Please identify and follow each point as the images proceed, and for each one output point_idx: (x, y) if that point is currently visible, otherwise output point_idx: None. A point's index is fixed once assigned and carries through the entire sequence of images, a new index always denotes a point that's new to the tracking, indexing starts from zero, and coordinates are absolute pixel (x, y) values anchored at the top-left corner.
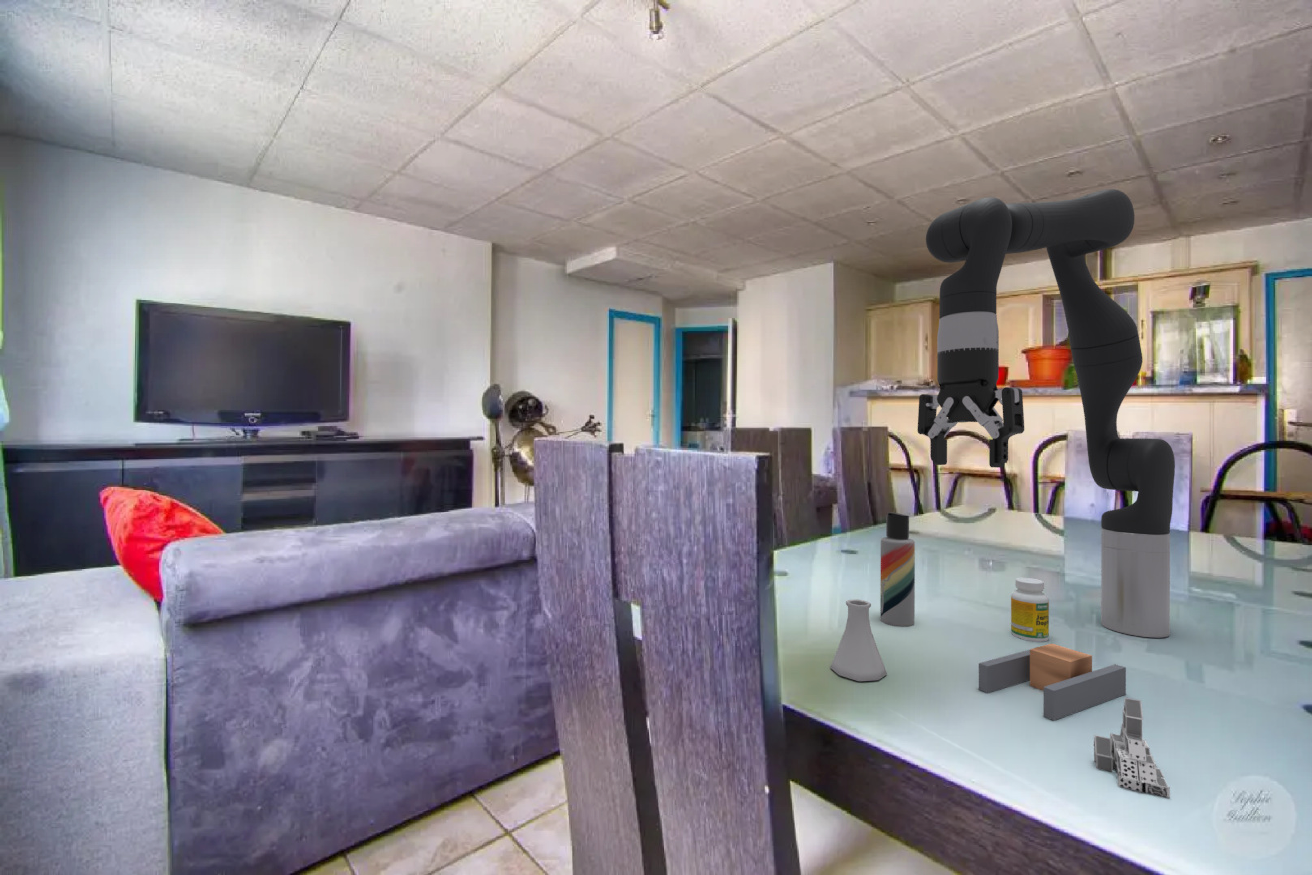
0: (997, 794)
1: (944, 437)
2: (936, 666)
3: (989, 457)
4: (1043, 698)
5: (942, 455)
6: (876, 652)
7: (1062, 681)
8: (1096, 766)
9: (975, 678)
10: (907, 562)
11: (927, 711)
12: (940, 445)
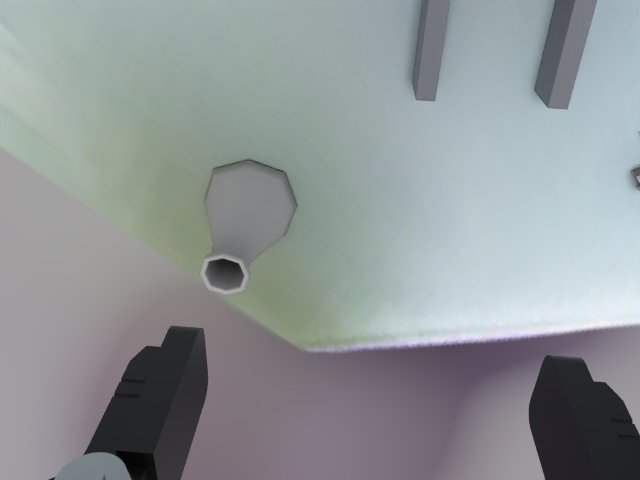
0: (564, 324)
1: (125, 467)
2: (298, 47)
3: (540, 459)
4: (541, 99)
5: (191, 394)
6: (271, 209)
7: (564, 45)
8: (636, 186)
9: (378, 34)
10: None
11: (409, 227)
12: (174, 463)
